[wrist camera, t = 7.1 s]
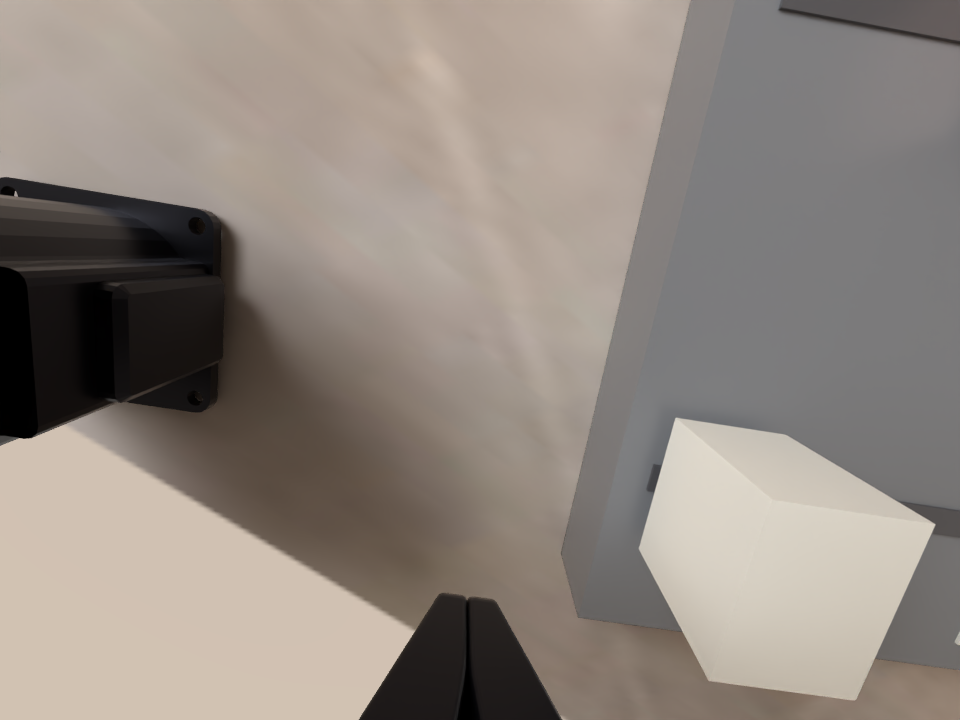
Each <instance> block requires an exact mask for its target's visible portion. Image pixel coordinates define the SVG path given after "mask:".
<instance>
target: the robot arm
mask: <svg viewBox="0 0 960 720" xmlns="http://www.w3.org/2000/svg"><path fill="white" fill-rule="evenodd" d="M15 191H16V192H17V194H18V197H15V196H14V193H15ZM200 219H202V220H203V221H204V223H205V227H206V228H205V231H204V232H203V233H202V234H201V233H200V232H199V231H198V230H197V222H198V220H200ZM220 262H221V225H220V222H219V220H218V218H217V217H216V216H215V215H214V214H213V213H212V212H210V211H207V210H203V209H197V208H191V207H185V206H179V205H173V204H167V203H161V202H154V201H148V200H142V199H136V198H130V197H124V196H118V195H112V194H106V193H100V192H94V191H88V190H82V189H76V188H70V187H64V186H58V185H52V184H46V183H40V182H34V181H28V180H22V179H15V178H9V177H3V178H0V446H1V445H3V444H6V443H8V442H10V441H13V440H16V439H18V438H23V439H26V438H33V437H35V436H37V435H40V434H42V433H45V432H47V431H50V430H52V429H54V428H57V427H59V426H62V425H64V424H67V423H69V422H71V421H74V420H76V419H79V418H81V417H84V416H86V415H88V414H91V413H93V412H96V411H98V410H101V409H103V408H105V407H108V406H110V405H113V404H115V403H117V402H120V403H121V402H129V403H136V404H142V405H149V406H156V407H162V408H169V409H176V410H182V411H189V412H202V411H204V410H206V409H208V408H210V407H212V406H213V405H214V404H215V402H216V400H217V389H218V361H220V360H221V359H222V356H223V320H224V284H223V282H222V281H221V279H220ZM195 391H197V392H199V393H200V394H201V395H202V398H203V401H199V400H198V399H197V398H196V397H195ZM359 720H562V719H561V717H560V715H559V713H558V711H557V710H556V708H555V706H554V704H553V703H552V701H551V699H550V697H549V695H548V694H547V692H546V690H545V688H544V686H543V685H542V683H541V681H540V679H539V678H538V676H537V674H536V672H535V670H534V669H533V667H532V665H531V663H530V661H529V660H528V658H527V656H526V654H525V653H524V651H523V649H522V647H521V645H520V644H519V642H518V640H517V638H516V637H515V635H514V633H513V631H512V629H511V628H510V626H509V624H508V622H507V620H506V619H505V617H504V615H503V613H502V612H501V610H500V608H499V606H498V604H497V603H496V602H495V601H494V600H492V599H487V598H479V597H470V598H468V600H466V597H465V596H463V595H457V594H449V593H441V594H439V595H438V596H437V598H436V599H435V601H434V602H433V604H432V606H431V607H430V609H429V610H428V612H427V613H426V615H425V617H424V618H423V620H422V621H421V623H420V624H419V626H418V628H417V629H416V631H415V632H414V634H413V635H412V637H411V639H410V640H409V642H408V643H407V645H406V646H405V648H404V650H403V651H402V653H401V654H400V656H399V658H398V659H397V661H396V662H395V664H394V665H393V667H392V669H391V670H390V672H389V673H388V675H387V676H386V678H385V680H384V681H383V682H382V684H381V686H380V687H379V689H378V690H377V692H376V694H375V695H374V697H373V698H372V700H371V701H370V703H369V704H368V706H367V708H366V709H365V711H364V712H363V714H362V715H361V717H360V719H359Z"/></svg>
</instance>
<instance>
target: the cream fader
mask: <svg viewBox="0 0 960 720" xmlns="http://www.w3.org/2000/svg"><path fill="white" fill-rule="evenodd" d="M935 525H936V524H934V523H933V522H931V521H929V520H928V519H926V518H924V517H923V516H921V515H919V514H917V513H916V512H914V511H912V510H911V509H909V508H907V507H906V506H904V505H902V504H901V503H899V502H897V501H896V500H894V499H892V498H891V497H889V496H887V495H886V494H884V493H882V492H881V491H879V490H877V489H876V488H874V487H872V486H871V485H869V484H867V483H866V482H864V481H862V480H861V479H859V478H857V477H856V476H854V475H852V474H851V473H849V472H847V471H846V470H844V469H842V468H841V467H839V466H837V465H836V464H834V463H832V462H831V461H829V460H827V459H826V458H824V457H822V456H821V455H819V454H817V453H816V452H814V451H812V450H811V449H809V448H807V447H806V446H804V445H802V444H800V443H799V442H797V441H795V440H794V439H792V438H790V437H789V436H787V435H785V434H778V433H772V432H765V431H759V430H752V429H746V428H739V427H733V426H727V425H720V424H714V423H707V422H701V421H694V420H688V419H681V418H675V421H674V425H673V428H672V432H671V436H670V439H669V443H668V446H667V450H666V453H665V457H664V461H663V464H662V468H661V471H660V475H659V478H658V482H657V485H656V489H655V493H654V496H653V500H652V503H651V507H650V510H649V514H648V517H647V521H646V525H645V528H644V532H643V535H642V539H641V542H640V546H639V550H640V552H641V554H642V556H643V558H644V560H645V562H646V564H647V566H648V567H649V569H650V571H651V573H652V575H653V577H654V579H655V581H656V583H657V584H658V586H659V588H660V590H661V592H662V594H663V596H664V598H665V599H666V601H667V603H668V605H669V607H670V609H671V611H672V613H673V615H674V616H675V618H676V620H677V622H678V624H679V626H680V628H681V630H682V631H683V633H684V635H685V637H686V639H687V641H688V643H689V645H690V647H691V648H692V650H693V652H694V654H695V656H696V658H697V660H698V662H699V663H700V665H701V667H702V669H703V671H704V673H705V675H706V677H707V679H708V680H709V681H712V682H719V683H727V684H734V685H742V686H749V687H757V688H764V689H771V690H779V691H786V692H794V693H801V694H809V695H816V696H824V697H831V698H838V699H846V700H853V701H856V699H857V697H858V694H859V692H860V690H861V688H862V686H863V683H864V681H865V679H866V677H867V675H868V672H869V670H870V668H871V666H872V664H873V661H874V659H875V657H876V655H877V653H878V650H879V648H880V646H881V644H882V642H883V639H884V637H885V635H886V633H887V631H888V628H889V626H890V624H891V622H892V620H893V617H894V615H895V613H896V611H897V608H898V606H899V604H900V602H901V600H902V597H903V595H904V593H905V591H906V589H907V586H908V584H909V582H910V580H911V578H912V575H913V573H914V571H915V569H916V567H917V564H918V562H919V560H920V558H921V556H922V553H923V551H924V549H925V547H926V545H927V542H928V540H929V538H930V536H931V534H932V531H933V529H934V527H935Z"/></svg>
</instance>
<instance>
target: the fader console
mask: <svg viewBox="0 0 960 720" xmlns="http://www.w3.org/2000/svg"><path fill="white" fill-rule="evenodd" d="M675 418H681V419H688V420H694V421H701V422H707V423H714V424H720V425H727V426H733V427H739V428H746V429H752V430H759V431H765V432H772V433H778V434H785V435H787V436H789V437H790V438H792V439H794V440H795V441H797V442H799V443H800V444H802V445H804V446H806V447H807V448H809V449H811V450H812V451H814V452H816V453H817V454H819V455H821V456H822V457H824V458H826V459H827V460H829V461H831V462H832V463H834V464H836V465H837V466H839V467H841V468H842V469H844V470H846V471H847V472H849V473H851V474H852V475H854V476H856V477H857V478H859V479H861V480H862V481H864V482H866V483H867V484H869V485H871V486H872V487H874V488H876V489H877V490H879V491H881V492H882V493H884V494H886V495H887V496H889V497H891V498H892V499H894V500H896V501H897V502H899V503H901V504H902V505H904V506H906V507H907V508H909V509H911V510H912V511H914V512H916V513H917V514H919V515H921V516H923V517H924V518H926V519H928V520H929V521H931V522H933V523H934V524H936V525H935V527H934V529H933V531H932V534H931V536H930V538H929V540H928V542H927V545H926V547H925V549H924V551H923V553H922V556H921V558H920V560H919V562H918V564H917V567H916V569H915V571H914V573H913V575H912V578H911V580H910V582H909V584H908V586H907V589H906V591H905V593H904V595H903V597H902V600H901V602H900V604H899V606H898V608H897V611H896V613H895V615H894V617H893V620H892V622H891V624H890V626H889V628H888V631H887V633H886V635H885V637H884V639H883V642H882V644H881V646H880V648H879V650H878V653H877V655H876V657H875V659H882V660H889V661H896V662H904V663H911V664H918V665H925V666H933V667H940V668H947V669H954V670H960V0H691V2H690V6H689V11H688V15H687V19H686V23H685V28H684V32H683V36H682V40H681V45H680V49H679V53H678V58H677V62H676V66H675V70H674V75H673V79H672V83H671V87H670V92H669V96H668V100H667V104H666V109H665V113H664V117H663V121H662V126H661V130H660V134H659V139H658V143H657V147H656V151H655V156H654V160H653V164H652V168H651V173H650V177H649V181H648V185H647V190H646V194H645V198H644V202H643V207H642V211H641V215H640V220H639V224H638V228H637V232H636V237H635V241H634V245H633V249H632V254H631V258H630V262H629V266H628V271H627V275H626V279H625V283H624V288H623V292H622V296H621V301H620V305H619V309H618V313H617V318H616V322H615V326H614V330H613V335H612V339H611V343H610V347H609V352H608V356H607V360H606V365H605V369H604V373H603V377H602V382H601V386H600V390H599V394H598V399H597V403H596V407H595V411H594V416H593V420H592V424H591V428H590V433H589V437H588V441H587V446H586V450H585V454H584V458H583V463H582V467H581V471H580V475H579V480H578V484H577V488H576V492H575V497H574V501H573V505H572V509H571V514H570V518H569V522H568V527H567V531H566V535H565V539H564V544H563V548H562V552H561V555H562V559H563V563H564V566H565V570H566V574H567V578H568V582H569V585H570V589H571V593H572V597H573V600H574V604H575V608H576V612H577V615H578V618H585V619H592V620H599V621H607V622H614V623H621V624H628V625H636V626H643V627H650V628H657V629H665V630H672V631H679V632H683V631H682V630H681V628H680V626H679V624H678V622H677V620H676V618H675V616H674V615H673V613H672V611H671V609H670V607H669V605H668V603H667V601H666V599H665V598H664V596H663V594H662V592H661V590H660V588H659V586H658V584H657V583H656V581H655V579H654V577H653V575H652V573H651V571H650V569H649V567H648V566H647V564H646V562H645V560H644V558H643V556H642V554H641V552H640V550H639V546H640V542H641V539H642V535H643V532H644V528H645V525H646V521H647V517H648V514H649V510H650V507H651V503H652V500H653V496H654V493H655V489H656V485H657V482H658V478H659V475H660V471H661V468H662V464H663V461H664V457H665V453H666V450H667V446H668V443H669V439H670V436H671V432H672V428H673V425H674V421H675Z"/></svg>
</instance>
